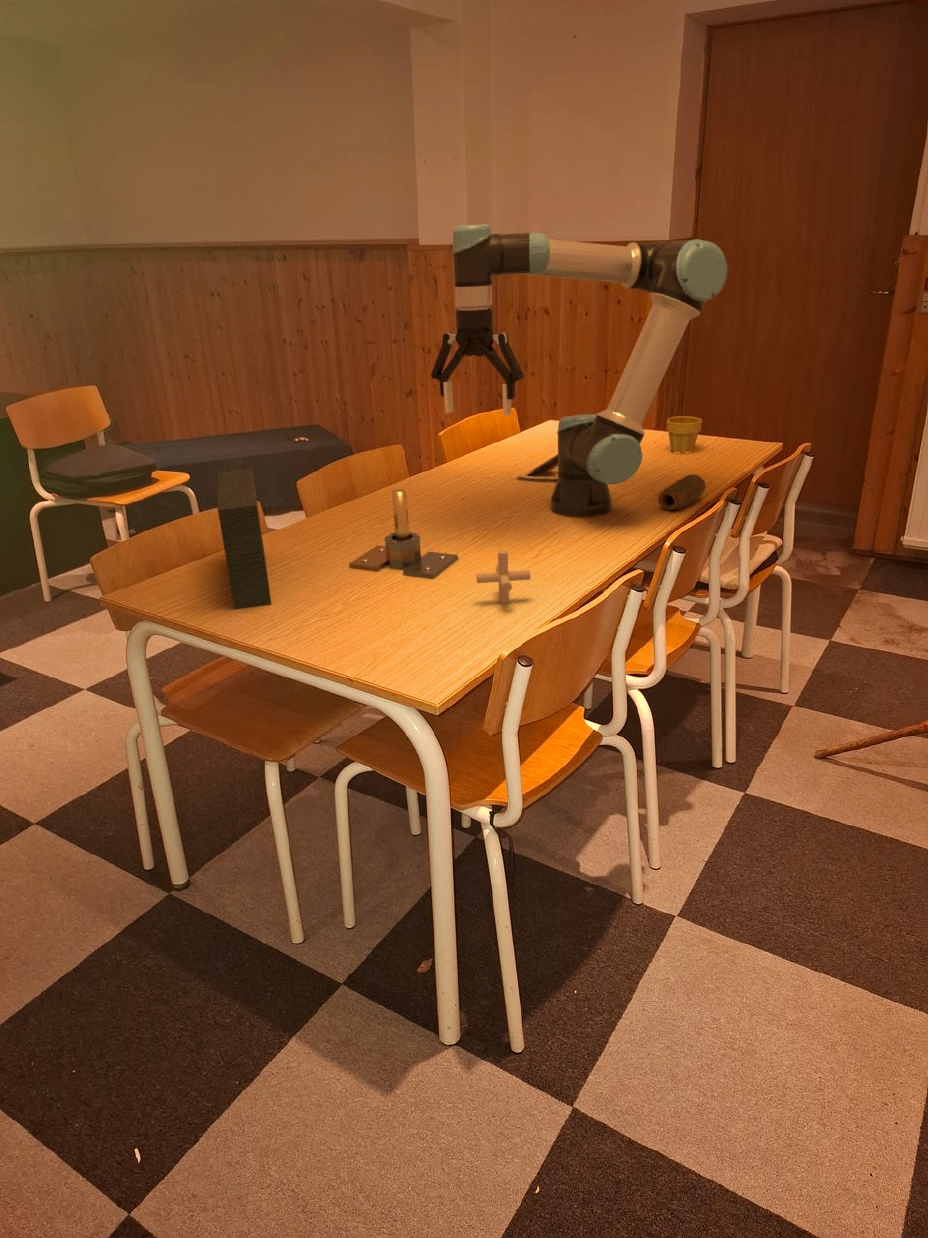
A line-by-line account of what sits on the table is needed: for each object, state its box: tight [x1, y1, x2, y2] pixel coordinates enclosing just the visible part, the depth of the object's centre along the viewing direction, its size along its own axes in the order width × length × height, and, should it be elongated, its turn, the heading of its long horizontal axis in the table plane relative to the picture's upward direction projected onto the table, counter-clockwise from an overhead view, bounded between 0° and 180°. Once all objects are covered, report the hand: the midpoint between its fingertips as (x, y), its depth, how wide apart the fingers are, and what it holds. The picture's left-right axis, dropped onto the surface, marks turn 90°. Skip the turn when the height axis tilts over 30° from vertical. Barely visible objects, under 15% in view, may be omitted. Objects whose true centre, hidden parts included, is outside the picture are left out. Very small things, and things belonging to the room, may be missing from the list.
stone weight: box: [657, 473, 706, 511], centre depth 209 cm, size 15×7×7 cm, turn 144°
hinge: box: [348, 531, 459, 580], centre depth 179 cm, size 20×12×6 cm, turn 65°
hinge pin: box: [391, 488, 410, 541], centre depth 177 cm, size 3×3×16 cm
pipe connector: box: [475, 549, 531, 604], centre depth 158 cm, size 10×10×10 cm
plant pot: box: [665, 415, 703, 453], centre depth 258 cm, size 10×10×10 cm
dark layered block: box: [217, 468, 272, 610], centre depth 171 cm, size 29×7×20 cm, turn 15°
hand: (477, 413), depth 180 cm, fingers open, 13 cm apart
